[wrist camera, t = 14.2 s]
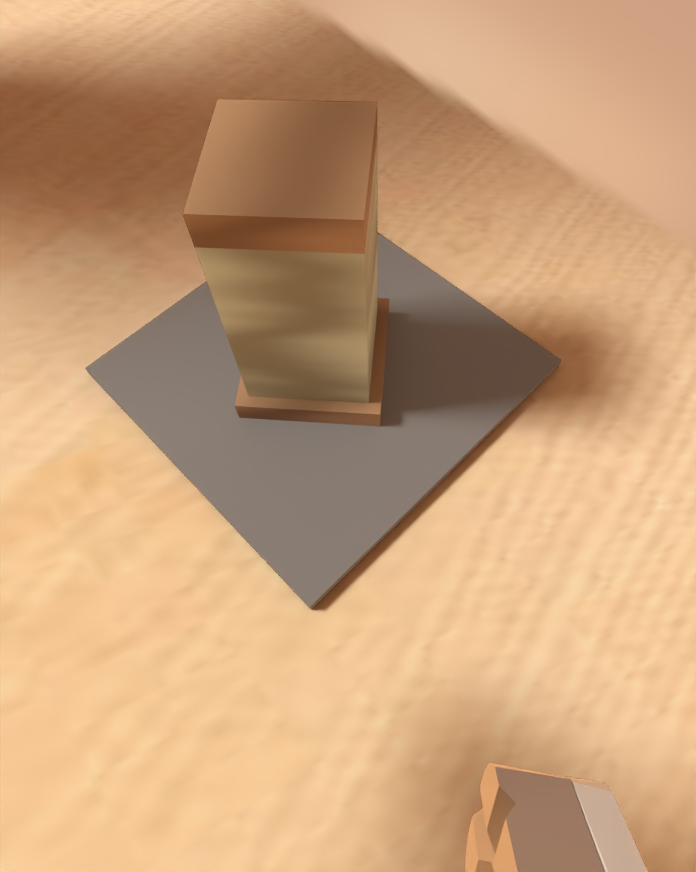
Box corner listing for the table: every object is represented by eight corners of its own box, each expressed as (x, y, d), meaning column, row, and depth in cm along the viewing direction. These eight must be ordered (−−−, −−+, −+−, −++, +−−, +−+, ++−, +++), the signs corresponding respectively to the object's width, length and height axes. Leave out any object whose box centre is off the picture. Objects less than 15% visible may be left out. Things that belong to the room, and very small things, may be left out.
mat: (89, 374, 22) (85, 368, 22) (326, 203, 26) (325, 196, 26) (311, 609, 18) (310, 606, 18) (558, 366, 22) (561, 360, 21)
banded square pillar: (239, 417, 21) (160, 226, 13) (261, 307, 23) (205, 89, 15) (380, 426, 20) (381, 234, 13) (389, 312, 23) (394, 91, 15)
